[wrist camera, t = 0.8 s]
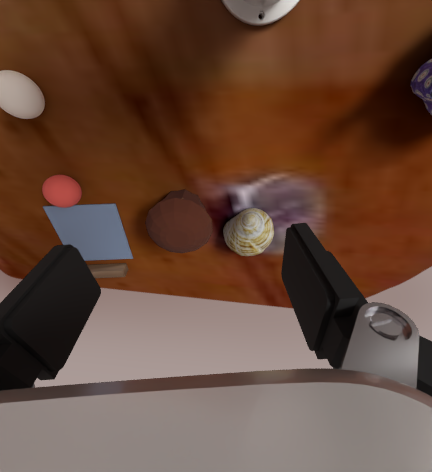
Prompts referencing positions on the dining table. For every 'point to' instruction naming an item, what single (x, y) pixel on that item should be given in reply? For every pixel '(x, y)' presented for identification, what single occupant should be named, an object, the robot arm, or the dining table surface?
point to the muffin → (179, 222)
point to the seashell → (249, 232)
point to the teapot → (423, 84)
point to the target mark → (91, 230)
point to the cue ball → (20, 95)
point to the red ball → (61, 191)
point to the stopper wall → (108, 270)
